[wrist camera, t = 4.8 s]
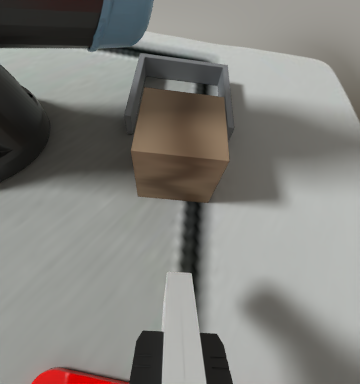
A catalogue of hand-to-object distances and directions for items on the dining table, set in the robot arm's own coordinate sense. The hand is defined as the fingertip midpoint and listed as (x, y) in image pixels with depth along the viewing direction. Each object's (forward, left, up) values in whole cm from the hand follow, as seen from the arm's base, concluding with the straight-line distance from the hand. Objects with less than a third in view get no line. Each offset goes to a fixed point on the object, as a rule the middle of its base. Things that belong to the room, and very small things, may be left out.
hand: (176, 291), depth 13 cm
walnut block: (0, +14, -7) cm, 16 cm away
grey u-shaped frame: (0, +26, -7) cm, 27 cm away
